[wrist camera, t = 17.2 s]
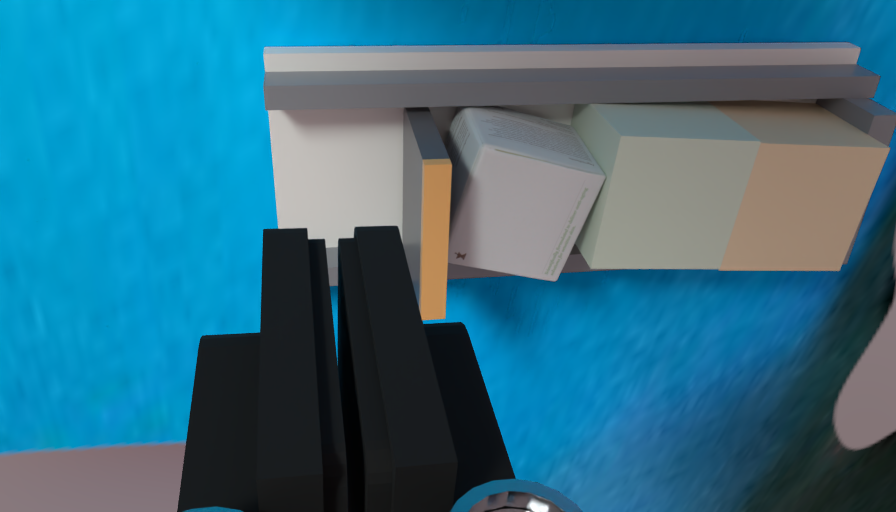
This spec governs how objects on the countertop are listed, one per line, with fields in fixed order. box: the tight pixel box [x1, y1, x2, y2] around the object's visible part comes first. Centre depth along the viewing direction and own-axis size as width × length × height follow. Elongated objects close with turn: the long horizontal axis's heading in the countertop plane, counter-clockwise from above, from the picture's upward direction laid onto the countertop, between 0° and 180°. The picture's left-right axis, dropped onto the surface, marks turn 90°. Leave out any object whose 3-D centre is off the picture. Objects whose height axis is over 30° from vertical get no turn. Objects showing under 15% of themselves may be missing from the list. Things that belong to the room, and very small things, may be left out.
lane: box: [264, 42, 896, 286], centre depth 35 cm, size 27×11×5 cm, turn 88°
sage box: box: [571, 101, 761, 269], centre depth 34 cm, size 6×6×6 cm
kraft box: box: [708, 100, 890, 271], centre depth 35 cm, size 6×6×6 cm
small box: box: [444, 106, 606, 282], centre depth 33 cm, size 6×6×5 cm
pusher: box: [402, 107, 452, 320], centre depth 32 cm, size 1×7×6 cm, turn 179°
